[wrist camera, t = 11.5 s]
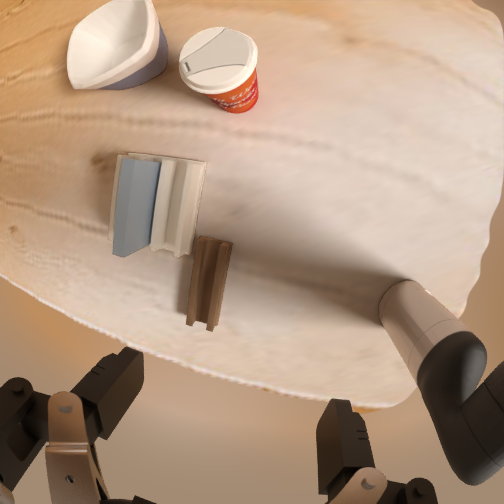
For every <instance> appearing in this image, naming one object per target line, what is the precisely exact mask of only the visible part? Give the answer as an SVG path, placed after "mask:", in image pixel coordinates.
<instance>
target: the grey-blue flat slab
mask: <svg viewBox="0 0 504 504" xmlns="http://www.w3.org/2000/svg"><path fill="white" fill-rule="evenodd" d="M161 165H162V162H154V161H145V160H135V159H124V158H123V160H122V167H121V173H120V180H119V187H118V195H117V204H116V213H115V224H114V238H113V255H117V256H120V257H126V256H128V255H130V254H132V253H134V252H136V251H138V250H140V249H142V248H144V247H146V246H148V245H150V244H151V235H152V226H153V218H154V210H155V203H156V196H157V189H158V183H159V177H160V171H161Z"/></svg>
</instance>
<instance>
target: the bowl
mask: <svg viewBox="0 0 504 504" xmlns="http://www.w3.org/2000/svg"><path fill="white" fill-rule="evenodd" d="M167 57H168V45H167V41H166V38H165V35H164V33H163V30H162V28H161V25H160V23H159V20H158V17H157V14H156V12H155V9H154V7H153V4H152V2H151V0H112V1H110V2H108V3H106V4H104V5H103V6H101V7H100V8H98V9H96V10H95V11H93V12H92V13H91V14H89V15H88V16H86V17H85V18H84V19H83V20H82V21H81V22H79V23H78V24H77V25H76V26H75V28H74V30H73V32H72V34H71V37H70V41H69V45H68V52H67V71H68V77H69V80H70V82H71V84H72V86H73V88H74V89H106V90H124V89H128V88H132V87H135V86H138V85H141V84H143V83H145V82H147V81H149V80H150V79H152V78H154V77H155V76H157V75H159V74H160V73H161V72H163V71H164V70H165V68H166V64H167Z"/></svg>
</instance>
